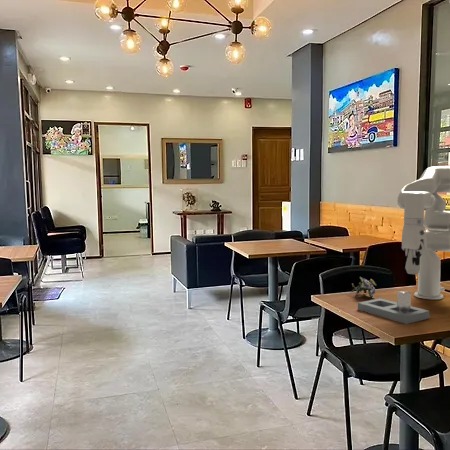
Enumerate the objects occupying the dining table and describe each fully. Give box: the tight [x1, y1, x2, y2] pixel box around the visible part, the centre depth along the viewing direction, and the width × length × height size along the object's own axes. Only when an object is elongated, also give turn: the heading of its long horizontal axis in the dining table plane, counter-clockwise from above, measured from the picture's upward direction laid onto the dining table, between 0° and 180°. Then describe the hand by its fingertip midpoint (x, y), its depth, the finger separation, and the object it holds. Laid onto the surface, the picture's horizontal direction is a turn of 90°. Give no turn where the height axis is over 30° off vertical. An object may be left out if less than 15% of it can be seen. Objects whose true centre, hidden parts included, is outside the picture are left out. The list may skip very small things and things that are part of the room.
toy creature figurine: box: [351, 276, 377, 298], centre depth 210 cm, size 11×11×12 cm
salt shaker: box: [404, 249, 420, 275], centre depth 184 cm, size 6×6×13 cm
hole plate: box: [357, 297, 430, 325], centre depth 182 cm, size 14×24×3 cm, turn 30°
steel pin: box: [396, 290, 412, 314], centre depth 177 cm, size 5×5×10 cm
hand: (412, 265), depth 184 cm, fingers closed on salt shaker, 3 cm apart
